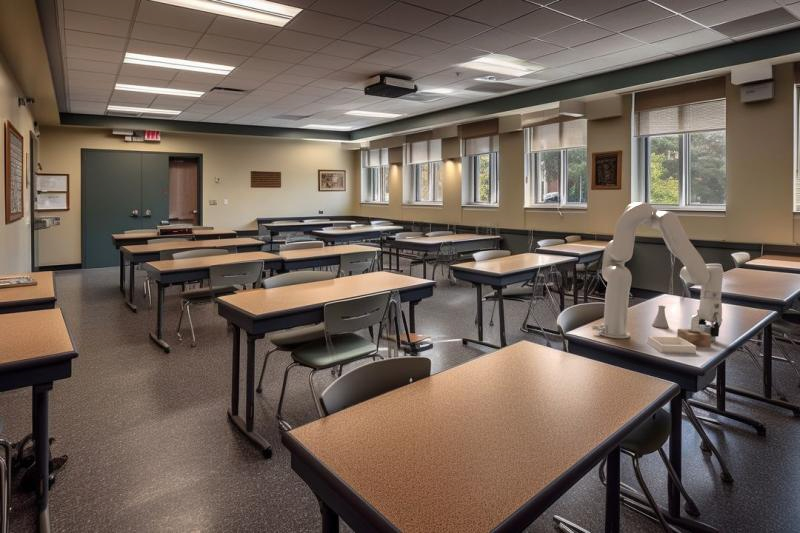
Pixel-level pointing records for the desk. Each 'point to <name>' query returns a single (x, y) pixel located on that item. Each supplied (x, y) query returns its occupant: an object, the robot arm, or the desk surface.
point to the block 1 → (695, 337)
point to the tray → (671, 345)
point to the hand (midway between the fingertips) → (707, 333)
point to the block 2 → (707, 330)
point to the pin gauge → (694, 324)
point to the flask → (660, 318)
